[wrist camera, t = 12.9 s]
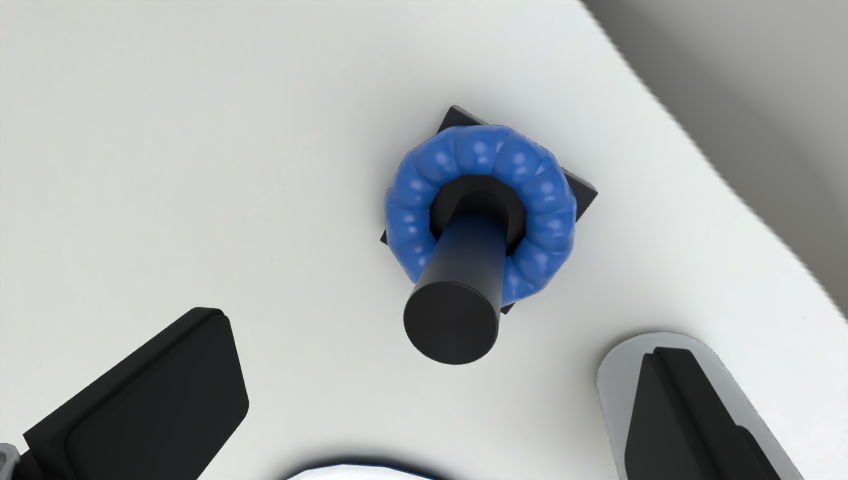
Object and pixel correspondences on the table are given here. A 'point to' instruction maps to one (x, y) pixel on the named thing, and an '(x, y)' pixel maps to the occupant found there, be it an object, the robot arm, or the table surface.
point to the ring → (511, 165)
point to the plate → (356, 473)
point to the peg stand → (469, 261)
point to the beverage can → (626, 359)
